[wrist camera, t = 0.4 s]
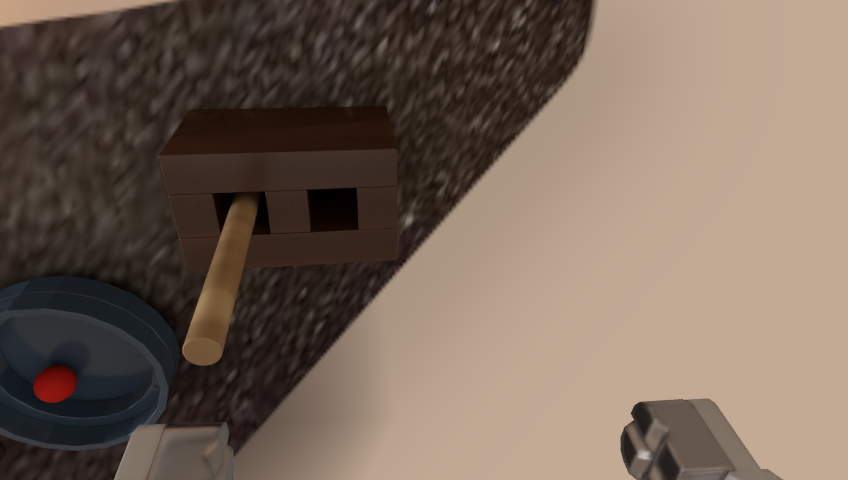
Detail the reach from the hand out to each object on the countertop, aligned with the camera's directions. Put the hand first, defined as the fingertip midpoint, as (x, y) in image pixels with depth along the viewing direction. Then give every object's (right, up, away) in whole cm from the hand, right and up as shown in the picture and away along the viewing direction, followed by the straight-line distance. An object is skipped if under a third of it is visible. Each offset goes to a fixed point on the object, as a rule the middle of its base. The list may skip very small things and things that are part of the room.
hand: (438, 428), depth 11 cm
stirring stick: (-12, +9, +29) cm, 33 cm away
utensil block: (-10, +10, +29) cm, 32 cm away
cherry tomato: (-31, -8, +34) cm, 46 cm away
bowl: (-29, -5, +35) cm, 46 cm away
